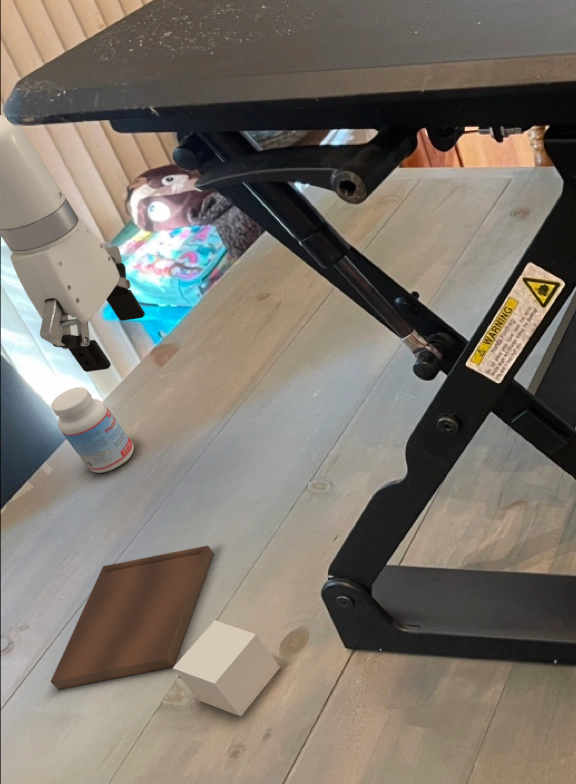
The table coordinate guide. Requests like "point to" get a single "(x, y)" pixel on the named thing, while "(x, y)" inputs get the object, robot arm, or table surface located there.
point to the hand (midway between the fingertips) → (116, 342)
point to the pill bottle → (92, 430)
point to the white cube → (227, 668)
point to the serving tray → (134, 618)
